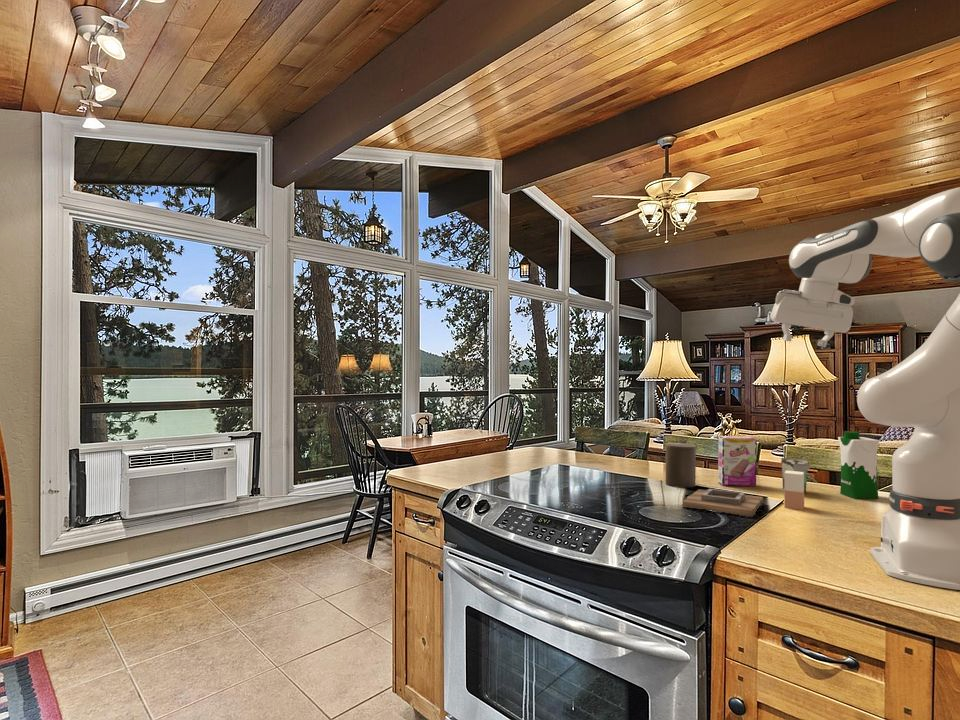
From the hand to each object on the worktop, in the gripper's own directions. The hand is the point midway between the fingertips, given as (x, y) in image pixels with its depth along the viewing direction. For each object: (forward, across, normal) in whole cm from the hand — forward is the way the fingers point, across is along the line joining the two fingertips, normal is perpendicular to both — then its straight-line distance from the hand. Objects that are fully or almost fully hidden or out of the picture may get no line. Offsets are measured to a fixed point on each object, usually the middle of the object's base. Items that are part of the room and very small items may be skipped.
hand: (804, 343), depth 150 cm
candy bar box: (+52, +4, +27) cm, 59 cm away
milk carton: (+44, +34, +13) cm, 58 cm away
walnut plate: (+50, -11, -1) cm, 51 cm away
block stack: (+46, +8, -2) cm, 47 cm away
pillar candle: (+55, -14, +27) cm, 63 cm away
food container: (+48, +19, +18) cm, 54 cm away
